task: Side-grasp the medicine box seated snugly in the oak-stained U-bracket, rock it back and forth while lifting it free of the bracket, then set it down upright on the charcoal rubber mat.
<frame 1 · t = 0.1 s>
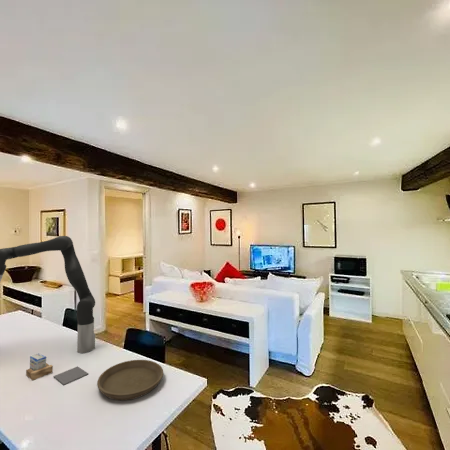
bracket: (37, 372, 139), on the table
plant saucer: (131, 384, 130), on the table
medicine box: (37, 372, 139), on the table
mat: (71, 375, 136), on the table
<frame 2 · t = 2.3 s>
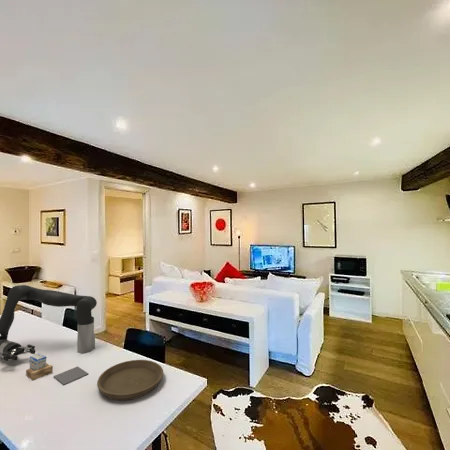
hand: (25, 355, 144), 7 cm above the table, tool horizontal, fingers open, 8 cm apart
nothing on the table moved.
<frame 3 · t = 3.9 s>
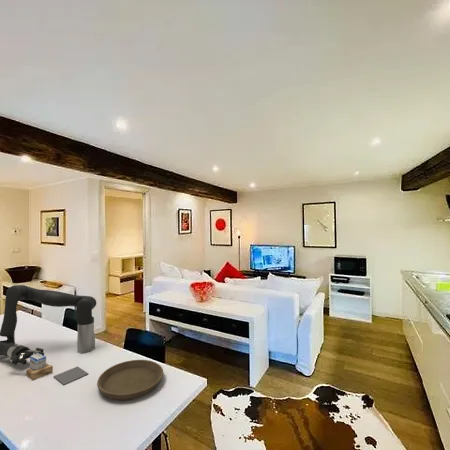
hand: (34, 358, 140), 7 cm above the table, tool horizontal, fingers open, 8 cm apart
nothing on the table moved.
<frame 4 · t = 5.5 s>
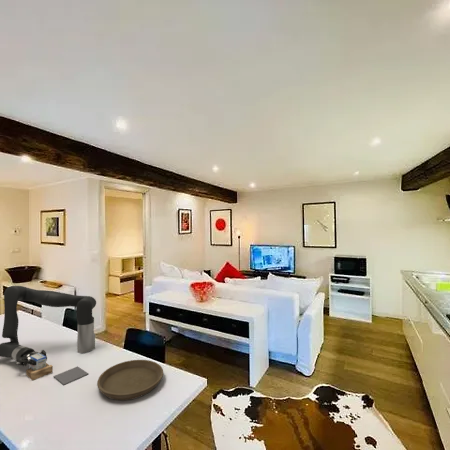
hand: (40, 361, 138), 7 cm above the table, tool horizontal, fingers closed on medicine box, 4 cm apart
medicine box: (37, 372, 139), on the table, touching gripper
everything else where it was.
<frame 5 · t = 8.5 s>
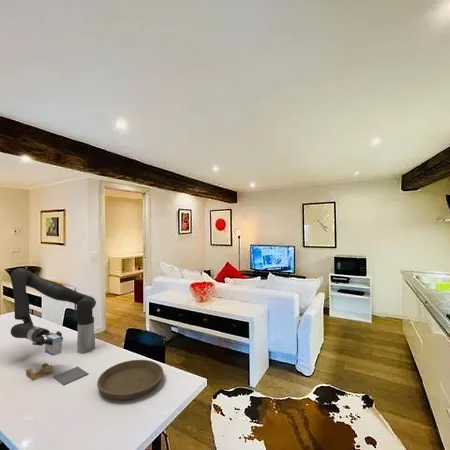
hand: (57, 341, 137), 18 cm above the table, tool horizontal, fingers closed on medicine box, 4 cm apart
medicine box: (53, 353, 138), point 11 cm above the table, touching gripper
everything else where it was.
when the fingers open (9 cm above the table, at t = 11.3 s): medicine box drops 1 cm, resting on mat.
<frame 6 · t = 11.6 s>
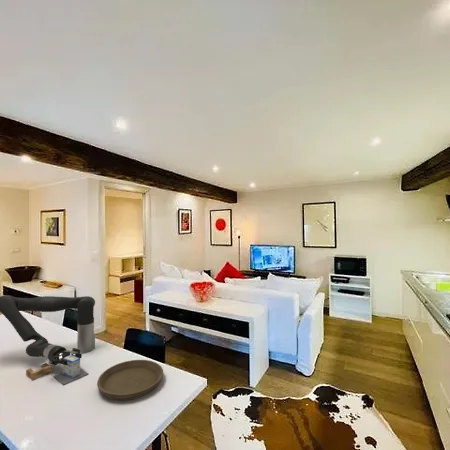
hand: (74, 359, 135), 9 cm above the table, tool horizontal, fingers open, 7 cm apart
medicine box: (71, 374, 136), resting on mat
everything else where it was.
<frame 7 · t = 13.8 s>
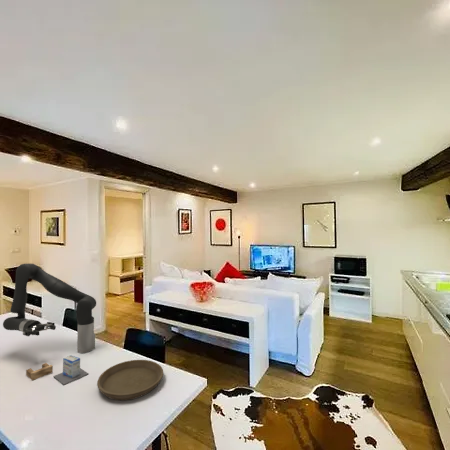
hand: (47, 330, 144), 21 cm above the table, tool horizontal, fingers open, 8 cm apart
nothing on the table moved.
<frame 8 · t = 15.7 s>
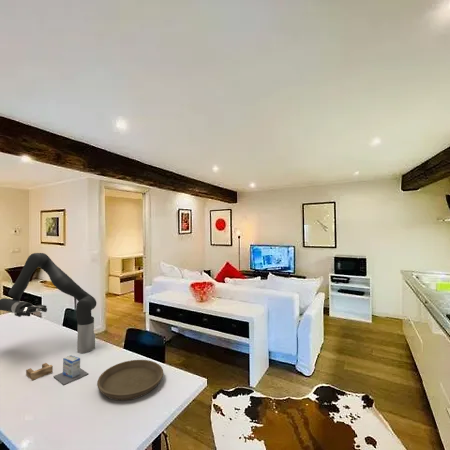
hand: (38, 312, 146), 30 cm above the table, tool horizontal, fingers open, 8 cm apart
nothing on the table moved.
at the end: medicine box inside the target area on the mat (0.3 cm from its centre), point 0.4 cm above the mat's base; medicine box tilted 0°; medicine box touching mat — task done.
